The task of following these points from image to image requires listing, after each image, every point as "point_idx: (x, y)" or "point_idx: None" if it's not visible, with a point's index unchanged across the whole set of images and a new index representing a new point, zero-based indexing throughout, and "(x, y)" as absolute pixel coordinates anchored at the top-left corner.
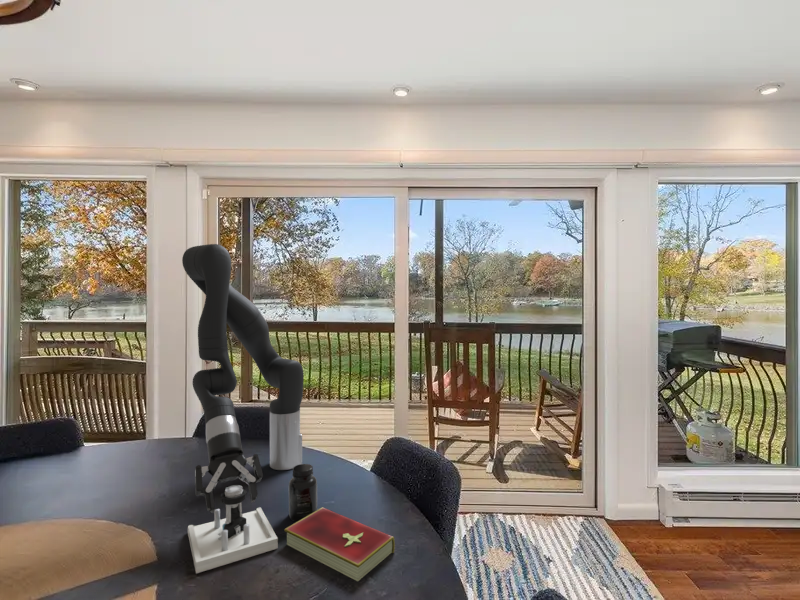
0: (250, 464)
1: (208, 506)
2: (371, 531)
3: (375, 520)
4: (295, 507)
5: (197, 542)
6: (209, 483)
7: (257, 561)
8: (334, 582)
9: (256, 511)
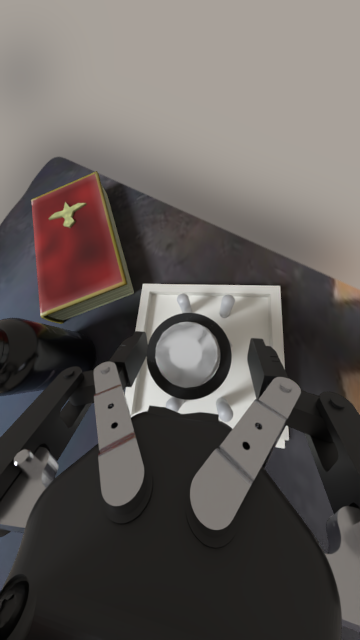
0: (50, 459)
1: (271, 349)
2: (39, 219)
3: (13, 283)
4: (74, 340)
5: None
6: (289, 411)
7: (184, 277)
8: (126, 202)
9: (133, 413)
